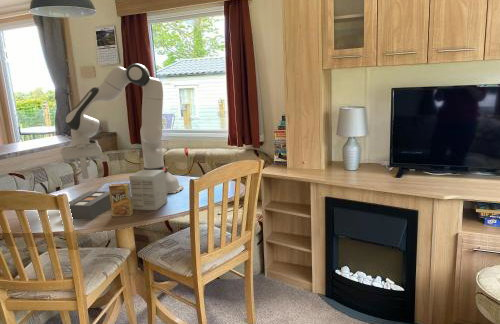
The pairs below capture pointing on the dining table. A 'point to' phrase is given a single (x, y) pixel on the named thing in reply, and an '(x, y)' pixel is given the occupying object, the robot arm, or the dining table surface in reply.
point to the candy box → (120, 199)
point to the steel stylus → (84, 167)
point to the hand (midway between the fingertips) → (83, 166)
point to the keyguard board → (90, 205)
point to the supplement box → (148, 189)
